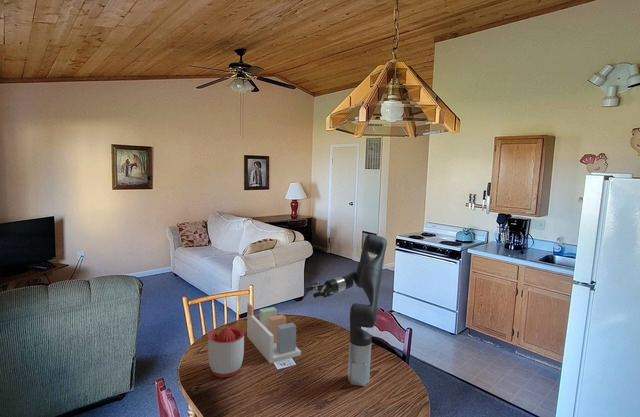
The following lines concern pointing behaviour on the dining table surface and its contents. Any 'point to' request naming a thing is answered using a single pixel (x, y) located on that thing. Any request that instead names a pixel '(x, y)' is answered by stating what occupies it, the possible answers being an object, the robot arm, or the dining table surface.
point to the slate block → (286, 338)
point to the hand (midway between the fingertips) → (309, 292)
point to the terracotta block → (275, 324)
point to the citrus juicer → (226, 351)
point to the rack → (265, 339)
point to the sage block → (267, 315)
